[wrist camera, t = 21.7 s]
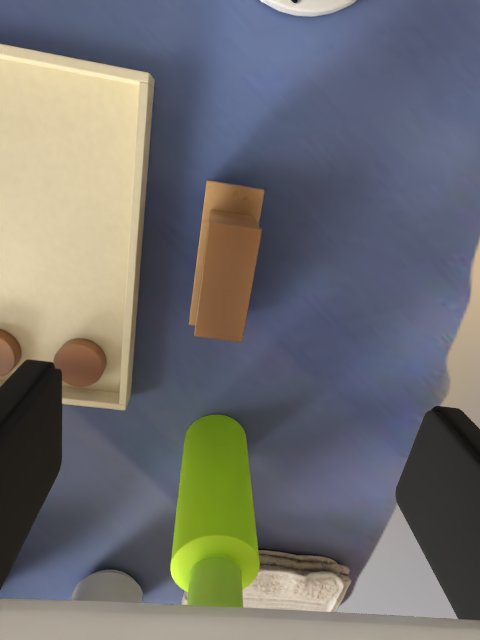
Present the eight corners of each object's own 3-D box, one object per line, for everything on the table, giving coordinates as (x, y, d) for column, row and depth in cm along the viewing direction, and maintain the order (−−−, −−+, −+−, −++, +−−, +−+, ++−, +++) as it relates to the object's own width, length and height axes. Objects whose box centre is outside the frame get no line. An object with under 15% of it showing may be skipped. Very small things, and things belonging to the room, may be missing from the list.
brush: (190, 311, 34) (182, 361, 25) (207, 178, 30) (204, 186, 22) (238, 317, 34) (245, 368, 26) (260, 187, 30) (277, 198, 22)
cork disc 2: (57, 335, 33) (52, 341, 32) (107, 340, 34) (103, 346, 33) (58, 377, 35) (53, 385, 34) (106, 382, 35) (102, 389, 34)
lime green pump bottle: (191, 476, 40) (170, 748, 22) (180, 418, 38) (145, 671, 19) (250, 468, 40) (279, 733, 22) (242, 410, 38) (268, 655, 19)
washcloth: (321, 623, 50) (327, 652, 47) (176, 611, 48) (173, 641, 45) (350, 555, 46) (359, 582, 43) (193, 539, 43) (191, 566, 40)
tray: (-87, 32, 26) (-114, 21, 24) (154, 79, 27) (149, 72, 25) (-49, 376, 35) (-66, 390, 33) (130, 395, 36) (125, 410, 34)
